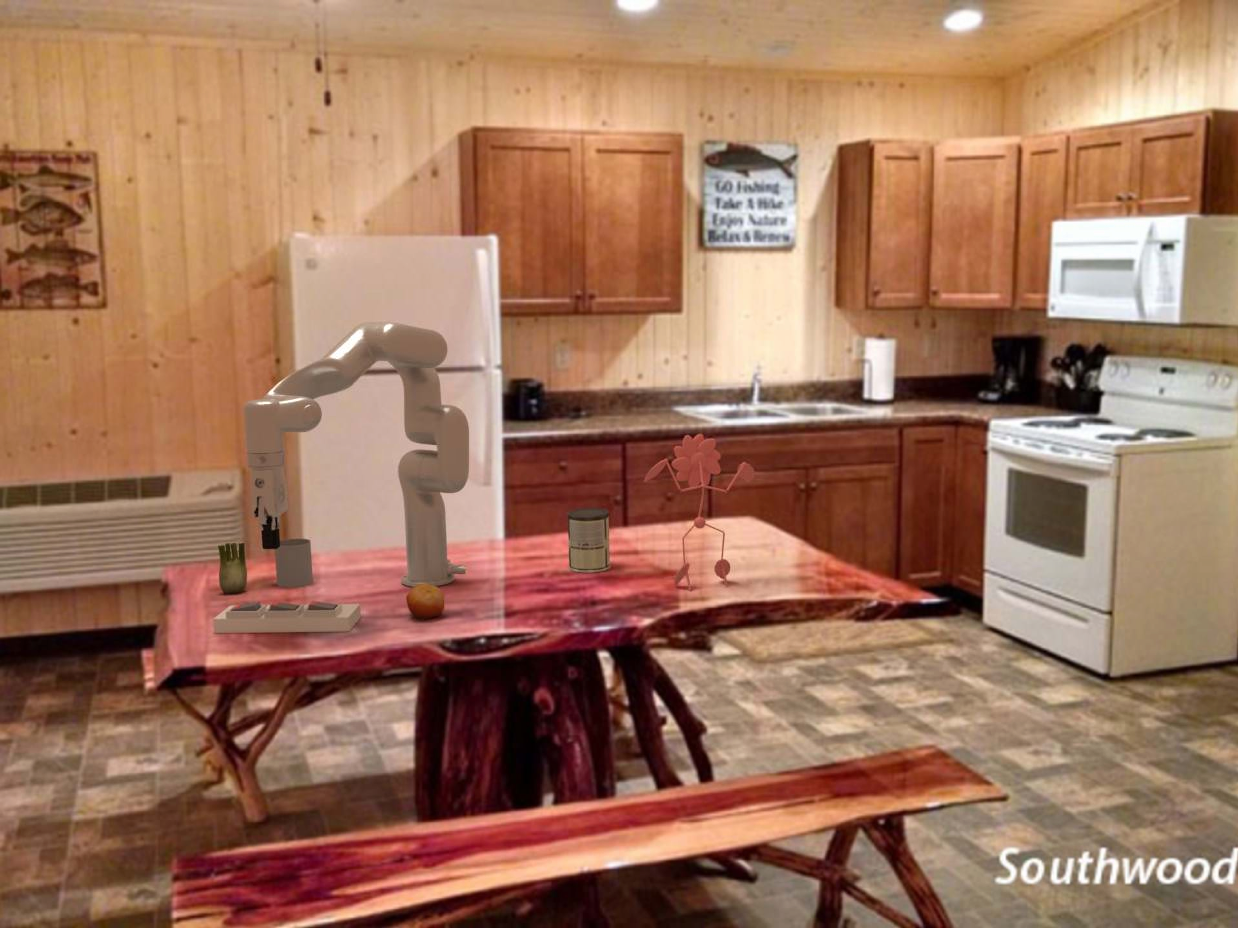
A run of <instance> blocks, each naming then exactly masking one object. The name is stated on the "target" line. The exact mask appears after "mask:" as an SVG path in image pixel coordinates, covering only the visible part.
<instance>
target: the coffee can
mask: <svg viewBox="0 0 1238 928" xmlns="http://www.w3.org/2000/svg"><path fill="white" fill-rule="evenodd" d="M566 516H567V531H568V535H567V536H568V540H567V541H568V565H569V566H568V569H569V570H570V571H571V572H576V573H583V574H590V573H591V574H593V573H601V572H604V571H608V570H609V569H611V562H610V561H611V560H610V557H611V555H610V523H609V522H610V520H609V519H610V518H609V517H610V511H609V510H608V509H605V508H598V507H597V508H596V507H584V508H583V507H582V508H576V509H571V510H569V511H567V513H566Z"/></svg>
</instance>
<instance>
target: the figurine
mask: <svg viewBox="0 0 1238 928" xmlns="http://www.w3.org/2000/svg"><path fill="white" fill-rule="evenodd" d="M683 437H684V438H683V440H682V446H680V445H676V446H675V447H674V451H673V452H674V456H675V457H676V459H673V461H672V462H671V465H670V463H669V459H668V458H664V459H663V460H660V461H659V462H658V463H656V464H655V465H654V466H652V468H651V469H650V470H649V471H648V472H647V474H646V475H645V478H644V480H643V482H644V483H646V482H648V481H650V480H652V479H654V478H655V477H656V476H657V475H658V474H659V473H661V472H662V470H663V469H664V468H665V466H667V468H668V470H669V472H670V474H671V476H672V478H673V482H675V485H676V487H677V489H678V490H679V493H683V492H687V491H692V490H696V489H701V497H700V503H699V505H700V506H699V511H698V515H697V517H696V518H695V519H694V520H693V525H692V526H691V527H690V528H689V529H688V530H687V531H686V533H685V534H684V535H683V537H682V555H683V556H682V557H683V558H682V559H683V565H682V566H681V567H680V569H679V570H678V571H677V573H676V574H675V575H673V576H668V577H662V578H660V579H659V580H656V582H654V584H656V583H658V582H660V581H662V580H665V579H670V578H674V582H673V583H674V586H678V584H679V583H680V582H681V581H682V580H683V579H684V578H685V577H686V581H687V588H688V591H689V592H690V591H691V592H692V585H691V581H690V576H691V575H693V573H689V569H690V566H691V565H690V563H689V562H686V552H685V538H686V537H687V536H688V534H689V533H690V532H691V531H692V530H693V528H694V527H695V528H696V529H703V528H705V527H706V526H707V527H709V528H711V529H713V530H715V531H718V532H720V533H722V544H721V557H720V558H721V559H719V560H717V561H716V563H715V565H714V567H713V568H714V570H713V571H714V573H715V575H716V576H717V577H719V578H720V579H721V580H723V581H724V585H725V587H729V584H728V580H727V576H728V575H729V574H730V571H731V564H730V562H729V561H728V560H727V559H724V547H725V535H726V533H725V531H723V530H721V529H720V528H716V527H715V526H712V525H710V524H708V523H707V521H706V520H705V518H704V517H703V516H701V514H702V509H703V504H704V498H705V489H710V490H713V491H717V492H722V493H726V494H727V493H728V492H729V491H730V490H731V488H732V486H733V485H734V483H735V481H736V480H737V478H738V477H740V478H741V479H742V480H744V482H747V483H750V482H751V481H752V480H753V479H754V477H755V470H754V467H752V466H751V464H750V463H747V462H746V461H743V462H742V463H740V464H739V465H738V468H737V472H736V474H735V476H733V478H732V480H731V482H730V483H729V485H728V486H727V488H726V489H722V488H718V487H715V486H713V487H712V486H709V484H710V482H711V481H710V480H711V476H712V475H719V474H720V473H721V470H722V468H721V465H720V463H719V462H718V461H719V460H720V459H721V457H722V456H721V453H720V452H718V451H717V450H715V448H716V444H717V439H714V438H713V437H712V438H711V437H710V438H707V439H705V438H704V435H703V434H702V433H699V434H696V435H695V436H694V438H692V436H691V435H689V434H687V435H684V436H683ZM671 466H672V467H673V469H675V470H676V471H678V472H677V473H676V475H675V473H674V471H673V469H672V467H671ZM678 481H679V482H685V481H688V482H687V484H688V487H687V488H683V489H682V488H681V485H680V484H679V482H678ZM700 483H701V484H700ZM699 484H700V485H699ZM706 574H707V573H703V575H706ZM750 584H752V582H750Z"/></svg>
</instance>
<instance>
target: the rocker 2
mask: <svg viewBox="0 0 1238 928" xmlns="http://www.w3.org/2000/svg"><path fill="white" fill-rule="evenodd" d="M337 604H338V603H329V602H323V601H317V600H312V601H311V602H310V603H309V604H308V605H309V607H308V610H334V609H335V608H336V606H337Z"/></svg>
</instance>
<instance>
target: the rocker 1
mask: <svg viewBox="0 0 1238 928" xmlns="http://www.w3.org/2000/svg"><path fill="white" fill-rule="evenodd" d="M236 605H237V604H236ZM260 605H261V602H260V601H254V602H250V603H244V604H243V603H242V604H238V605H237V606H235V607H234V608H233V609H232V610H231V611H257V610H258V609H259V608H260V607H261V606H260Z"/></svg>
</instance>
